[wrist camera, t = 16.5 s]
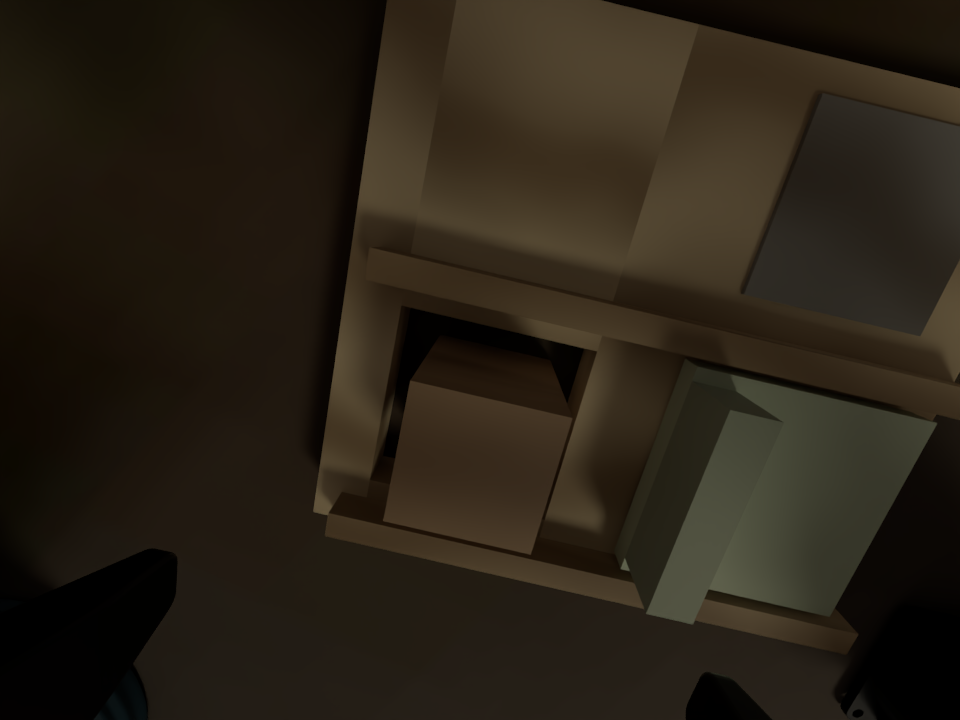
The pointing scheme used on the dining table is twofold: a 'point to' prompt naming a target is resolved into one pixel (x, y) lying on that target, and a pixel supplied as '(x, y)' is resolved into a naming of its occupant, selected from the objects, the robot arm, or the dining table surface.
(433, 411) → the walnut block
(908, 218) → the puzzle board
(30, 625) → the robot arm
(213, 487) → the dining table surface
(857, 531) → the lid
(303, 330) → the dining table surface
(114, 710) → the canister
